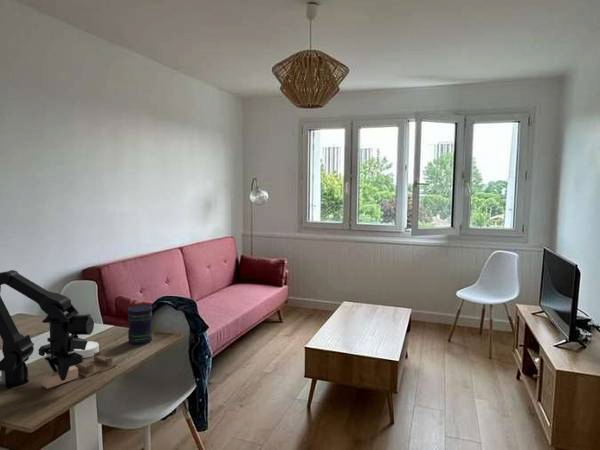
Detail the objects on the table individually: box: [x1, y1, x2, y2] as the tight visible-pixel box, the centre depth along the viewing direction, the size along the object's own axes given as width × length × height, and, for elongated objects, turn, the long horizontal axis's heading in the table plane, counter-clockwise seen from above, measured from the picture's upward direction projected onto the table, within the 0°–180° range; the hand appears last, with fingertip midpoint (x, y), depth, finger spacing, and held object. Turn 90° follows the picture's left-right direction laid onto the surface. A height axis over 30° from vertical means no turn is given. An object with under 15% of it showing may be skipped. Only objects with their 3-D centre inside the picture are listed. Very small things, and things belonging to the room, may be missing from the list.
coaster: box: [70, 340, 100, 359], centre depth 163 cm, size 10×10×4 cm
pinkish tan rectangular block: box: [42, 365, 79, 390], centre depth 139 cm, size 10×3×4 cm, turn 145°
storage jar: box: [127, 304, 153, 346], centre depth 177 cm, size 10×10×15 cm
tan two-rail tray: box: [74, 351, 117, 378], centre depth 150 cm, size 11×10×4 cm
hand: (61, 378), depth 139 cm, fingers closed on pinkish tan rectangular block, 3 cm apart
